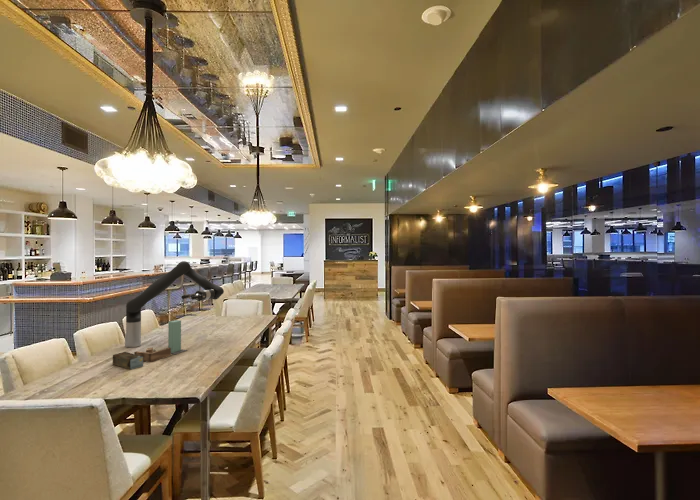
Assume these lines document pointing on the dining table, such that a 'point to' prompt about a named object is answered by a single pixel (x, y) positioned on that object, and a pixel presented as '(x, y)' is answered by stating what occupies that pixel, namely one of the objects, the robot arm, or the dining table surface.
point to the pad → (178, 352)
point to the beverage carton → (127, 360)
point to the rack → (154, 354)
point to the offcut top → (149, 350)
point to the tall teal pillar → (174, 335)
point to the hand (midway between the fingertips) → (186, 297)
